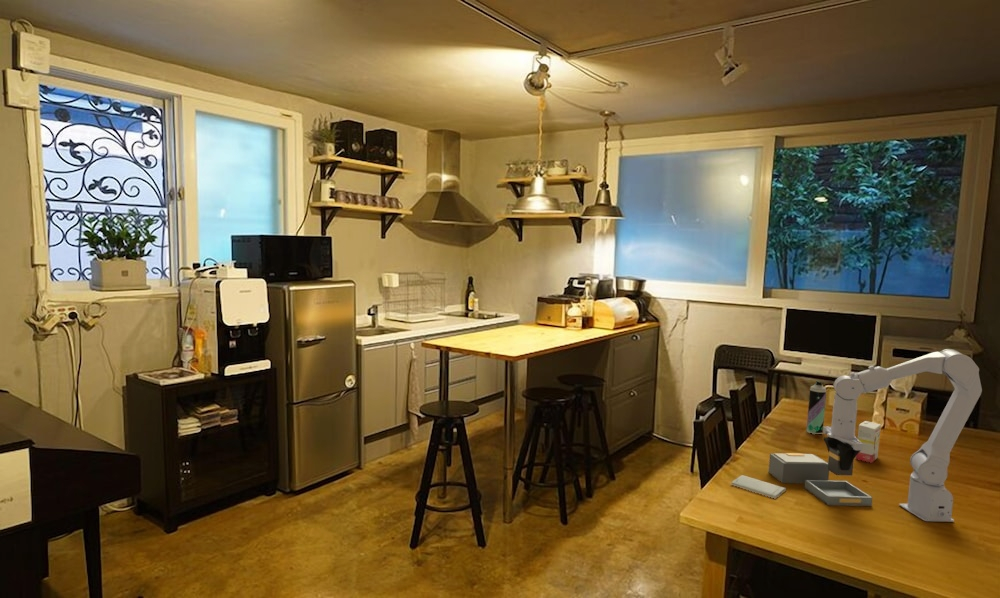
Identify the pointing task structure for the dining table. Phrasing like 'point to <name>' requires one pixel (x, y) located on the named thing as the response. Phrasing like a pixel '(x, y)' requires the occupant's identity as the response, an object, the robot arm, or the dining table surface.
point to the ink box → (869, 441)
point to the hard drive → (758, 486)
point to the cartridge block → (837, 463)
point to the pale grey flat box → (797, 467)
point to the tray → (838, 493)
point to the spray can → (816, 408)
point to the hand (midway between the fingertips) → (839, 466)
